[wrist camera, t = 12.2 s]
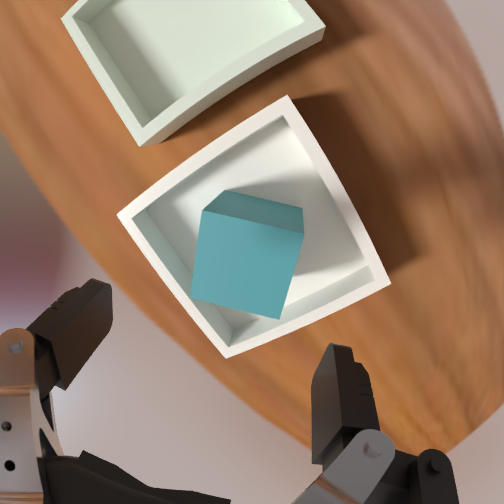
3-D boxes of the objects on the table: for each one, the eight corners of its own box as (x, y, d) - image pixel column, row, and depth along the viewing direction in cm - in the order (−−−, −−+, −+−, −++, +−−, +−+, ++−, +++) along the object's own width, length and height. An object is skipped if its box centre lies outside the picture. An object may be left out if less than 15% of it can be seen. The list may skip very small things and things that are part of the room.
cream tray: (137, 203, 21) (116, 214, 19) (288, 100, 17) (287, 94, 15) (233, 334, 25) (225, 358, 22) (380, 263, 21) (391, 283, 18)
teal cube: (212, 260, 21) (190, 297, 17) (224, 190, 19) (202, 210, 15) (283, 278, 21) (279, 319, 17) (302, 208, 19) (304, 234, 15)
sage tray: (84, 26, 16) (60, 18, 14) (217, -71, 12) (207, -91, 10) (159, 143, 20) (139, 146, 17) (321, 40, 16) (325, 26, 13)
